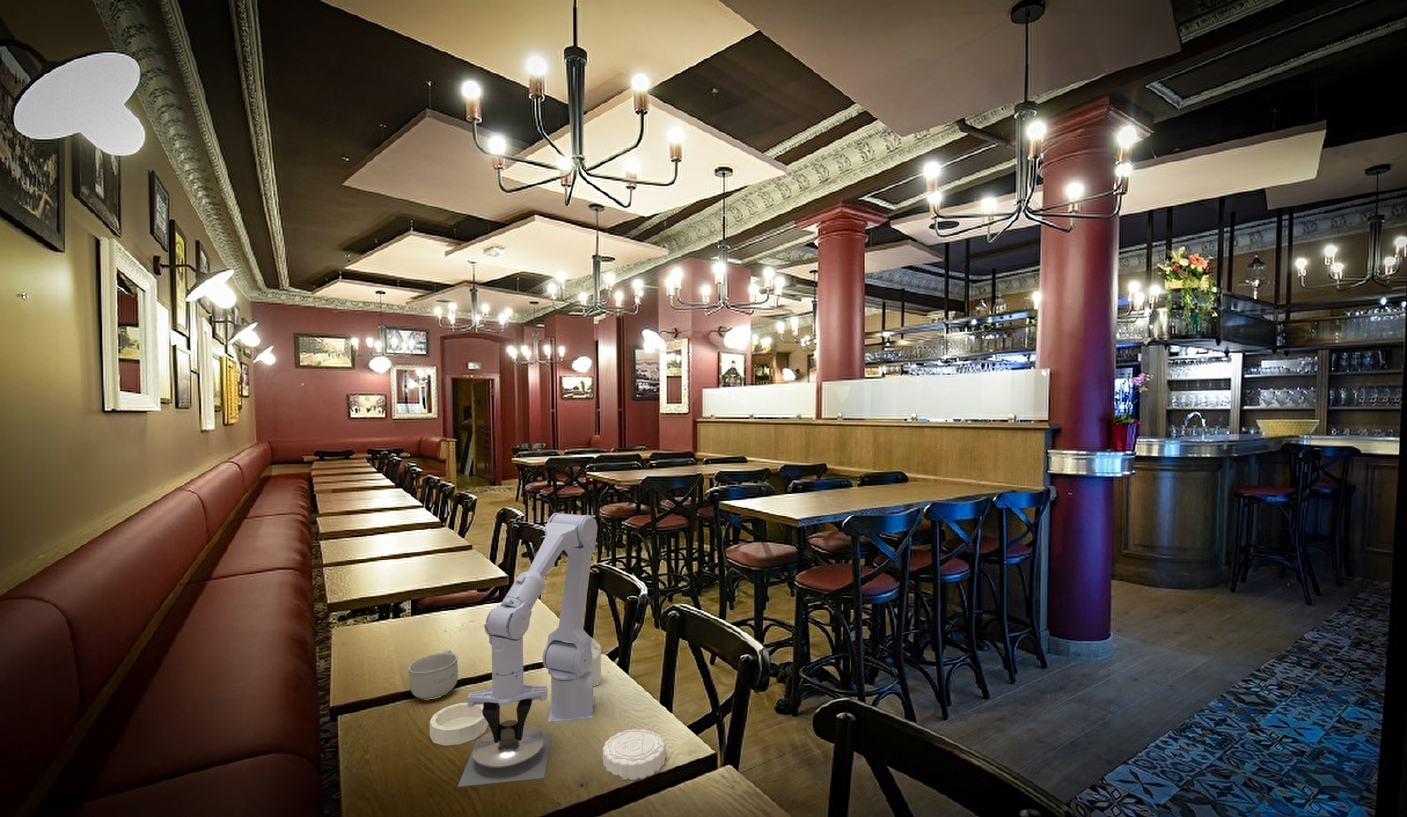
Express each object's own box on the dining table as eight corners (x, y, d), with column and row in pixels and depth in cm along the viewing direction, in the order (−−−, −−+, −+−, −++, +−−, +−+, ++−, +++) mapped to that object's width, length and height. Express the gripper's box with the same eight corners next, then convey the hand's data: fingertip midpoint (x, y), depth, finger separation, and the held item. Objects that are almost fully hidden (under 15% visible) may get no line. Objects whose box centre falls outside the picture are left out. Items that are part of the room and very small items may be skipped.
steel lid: (547, 726, 120) (546, 705, 120) (539, 763, 107) (539, 740, 107) (481, 732, 118) (480, 711, 118) (465, 771, 105) (464, 747, 105)
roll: (602, 630, 147) (598, 638, 142) (603, 677, 147) (599, 688, 142) (578, 630, 147) (574, 639, 142) (579, 677, 147) (574, 688, 142)
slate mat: (552, 735, 121) (552, 733, 121) (543, 780, 107) (543, 778, 107) (477, 742, 119) (477, 739, 119) (457, 789, 104) (457, 786, 104)
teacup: (439, 707, 133) (438, 672, 133) (397, 703, 135) (397, 668, 135) (474, 679, 147) (474, 648, 147) (436, 676, 149) (436, 645, 149)
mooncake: (605, 745, 118) (605, 727, 118) (665, 742, 119) (664, 724, 119) (599, 783, 106) (599, 763, 106) (665, 779, 107) (665, 759, 107)
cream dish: (492, 716, 129) (492, 700, 129) (481, 744, 118) (480, 727, 118) (439, 720, 127) (439, 704, 127) (423, 749, 117) (423, 732, 117)
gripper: (463, 681, 108) (464, 755, 108) (543, 675, 110) (544, 747, 110) (472, 665, 115) (473, 734, 115) (548, 659, 117) (549, 727, 117)
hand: (508, 739), depth 113 cm, fingers closed on steel lid, 4 cm apart
